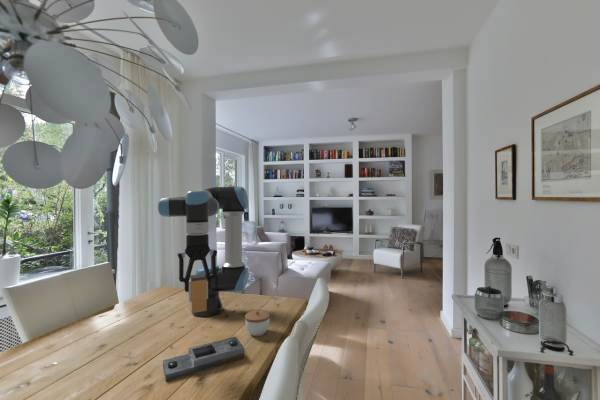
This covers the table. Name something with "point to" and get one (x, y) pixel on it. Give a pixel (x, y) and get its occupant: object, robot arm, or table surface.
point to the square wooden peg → (198, 293)
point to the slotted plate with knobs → (204, 358)
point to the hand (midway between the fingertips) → (197, 299)
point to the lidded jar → (257, 322)
